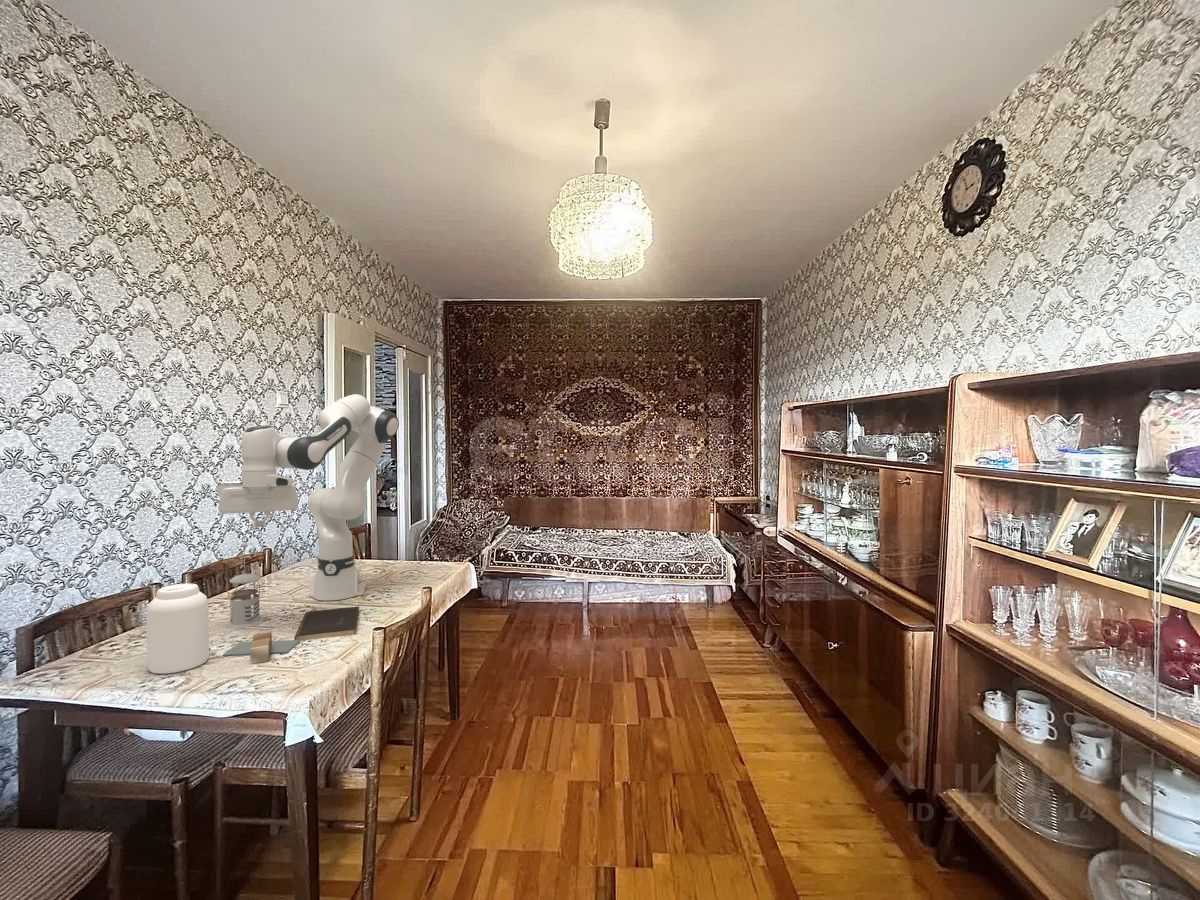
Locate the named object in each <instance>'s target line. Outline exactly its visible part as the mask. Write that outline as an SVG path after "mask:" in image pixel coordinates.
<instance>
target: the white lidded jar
mask: <svg viewBox="0 0 1200 900" xmlns="http://www.w3.org/2000/svg"><path fill="white" fill-rule="evenodd" d="M209 622H210V619H209V599H208V597H207V595H206V594H205V593H203V592H202V591H200V587H199V586H198V584H195V583H176V584H172V585H171V584H170V585H166V586H163V587H161V588H159V589H157V591H156V593H155V597H154V598H153V599H152V600H151V601H150V602H149V603H148V605H147V607H146V647H147V648H146V651H147V653H146V656H147V657H146V660H147V670H148V671H149V672H150V673H151V674H158V675H159V674H160V675H163V674H175V673H180V672H185V671H188V670H192V669H195V668H196V667H199V666H201V665H203V664H204V663H206V662H207V661H208V659H209V657H210V634H209V633H210V628H209V627H210V625H209V624H210V623H209Z"/></svg>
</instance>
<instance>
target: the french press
mask: <svg viewBox="0 0 1200 900" xmlns="http://www.w3.org/2000/svg"><path fill="white" fill-rule="evenodd" d="M248 547H249V544H248V543H246V542H243V543H241V545H240V548H243V567H244V568H243V573H242V574H238V575H236V576H233V577H232V578H230V579H229V583H230V584H232V585H240V584H242V585H244V589H239V590H235V591H232V592H231V594H230V595H231V596H232V597H230V599H229V611H230V612H229V615H230V619H229V622H228V623H226V628H229V629H244V628H250V627H254V626H258V625H260V624H262V623H263V622H264V619H263V618H262V617H261V613H260V611H261V610H260V607H261V606H260V602H261V601H260V595H261V585H260V582H259V581H260V579H261V577H260V576H258V575H257V574H254V573H247V572H246V550H245V549H246V548H248ZM256 582H257V584H258V589H256V585H255V584H256ZM246 584H249V585H250V586H253V588H246Z"/></svg>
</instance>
